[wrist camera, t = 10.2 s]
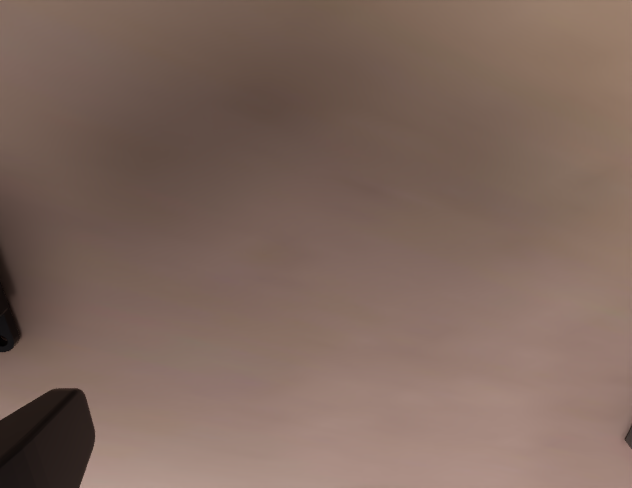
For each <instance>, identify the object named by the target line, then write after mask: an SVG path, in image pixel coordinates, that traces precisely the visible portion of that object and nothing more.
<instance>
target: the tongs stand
mask: <svg viewBox="0 0 632 488" xmlns="http://www.w3.org/2000/svg"><path fill="white" fill-rule="evenodd" d="M625 441H626V442H627V443H628V445H629V446H630V447H631V449H632V427H631V429H630V431H629V433H628V435H627V437H626V439H625Z"/></svg>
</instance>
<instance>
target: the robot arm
mask: <svg viewBox="0 0 632 488" xmlns="http://www.w3.org/2000/svg"><path fill="white" fill-rule="evenodd" d="M0 335H1V336H4V337H5V338H6V339H7V341H6V340H4V339H2V337H1V336H0V352H6V351H10V350H11V349H12V348H13V347H14V346H15V345H16V344H17V343H18V342H19V339H20V336H19V332H18V330H17V327H16V324H15V322H14V319H13V316H12V314H11V311H10V308H9V304H8V301H7V298H6V296H5V293H4V290H3V288H2V285H1V282H0ZM94 442H95V429H94V425H93V421H92V418H91V414H90V410H89V407H88V403H87V399H86V396H85V394H84V392H83V391H82V390H80V389H78V388H58V389H53V390H50V391H48V392H47V393H45V394H43V395H42V396H40V397H38V398H37V399H35V400H33V401H32V402H30V403H28V404H27V405H25V406H23V407H22V408H20V409H18V410H17V411H15V412H13V413H12V414H10V415H8V416H7V417H5V418H3V419H2V420H0V488H79V487H80V484H81V481H82V479H83V476H84V473H85V470H86V467H87V464H88V461H89V458H90V456H91V453H92V450H93V446H94Z"/></svg>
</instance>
